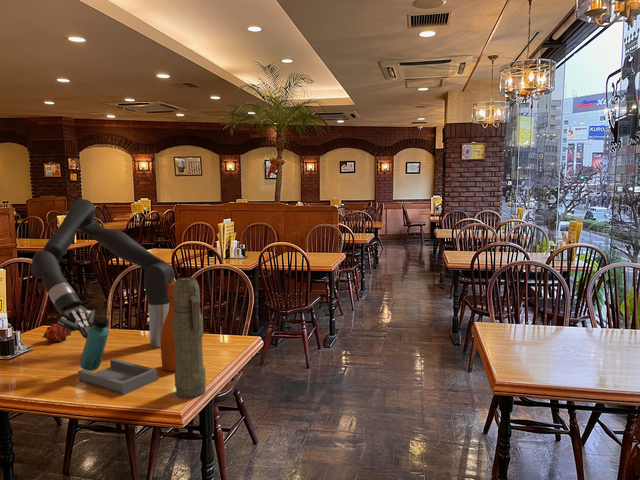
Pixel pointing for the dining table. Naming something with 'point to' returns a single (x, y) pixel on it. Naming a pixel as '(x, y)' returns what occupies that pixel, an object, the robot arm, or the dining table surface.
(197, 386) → the thermos
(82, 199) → the robot arm
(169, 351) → the wine bottle
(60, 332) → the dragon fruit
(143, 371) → the U-rest
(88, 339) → the beverage bottle
